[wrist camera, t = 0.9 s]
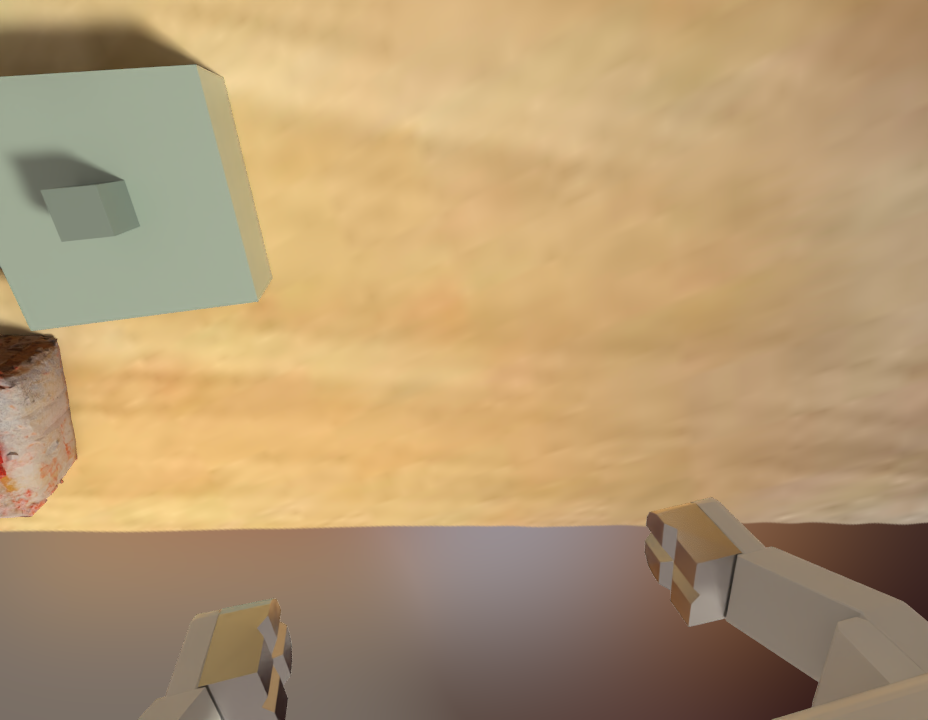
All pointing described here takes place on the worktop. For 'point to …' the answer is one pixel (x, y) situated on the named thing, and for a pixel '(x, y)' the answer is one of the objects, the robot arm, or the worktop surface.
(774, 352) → the worktop surface
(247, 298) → the cover
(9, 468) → the food item
